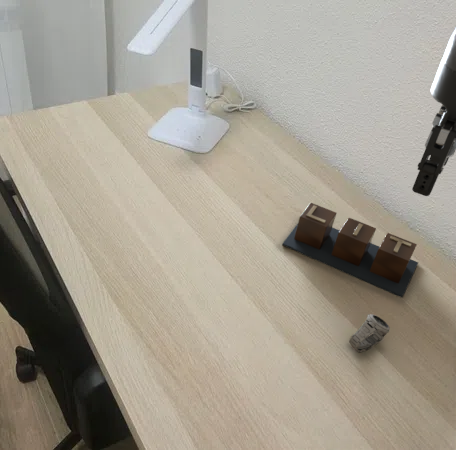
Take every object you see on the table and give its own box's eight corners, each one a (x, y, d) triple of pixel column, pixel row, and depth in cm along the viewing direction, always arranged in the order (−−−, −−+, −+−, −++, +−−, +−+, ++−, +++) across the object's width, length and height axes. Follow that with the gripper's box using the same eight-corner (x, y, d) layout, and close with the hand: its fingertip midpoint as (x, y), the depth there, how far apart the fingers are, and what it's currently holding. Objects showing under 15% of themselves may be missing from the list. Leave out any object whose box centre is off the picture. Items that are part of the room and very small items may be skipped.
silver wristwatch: (388, 344, 78) (400, 321, 74) (357, 362, 75) (367, 339, 72) (370, 326, 80) (380, 304, 77) (338, 343, 77) (347, 320, 74)
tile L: (329, 235, 94) (337, 211, 91) (319, 250, 91) (326, 226, 88) (304, 224, 96) (310, 201, 93) (293, 239, 93) (299, 215, 90)
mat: (417, 264, 90) (418, 262, 90) (402, 297, 84) (403, 296, 84) (303, 217, 98) (303, 215, 98) (282, 245, 92) (282, 243, 92)
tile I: (367, 250, 91) (376, 227, 88) (358, 266, 89) (367, 242, 85) (341, 239, 93) (348, 216, 90) (331, 254, 90) (338, 231, 87)
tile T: (406, 266, 89) (417, 243, 85) (398, 283, 86) (409, 260, 82) (378, 255, 91) (387, 231, 87) (369, 271, 88) (378, 247, 84)
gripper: (502, 94, 57) (445, 215, 68) (522, 50, 66) (469, 163, 77) (428, 74, 60) (384, 193, 71) (457, 35, 69) (415, 145, 80)
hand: (429, 177), depth 74 cm, fingers open, 8 cm apart
